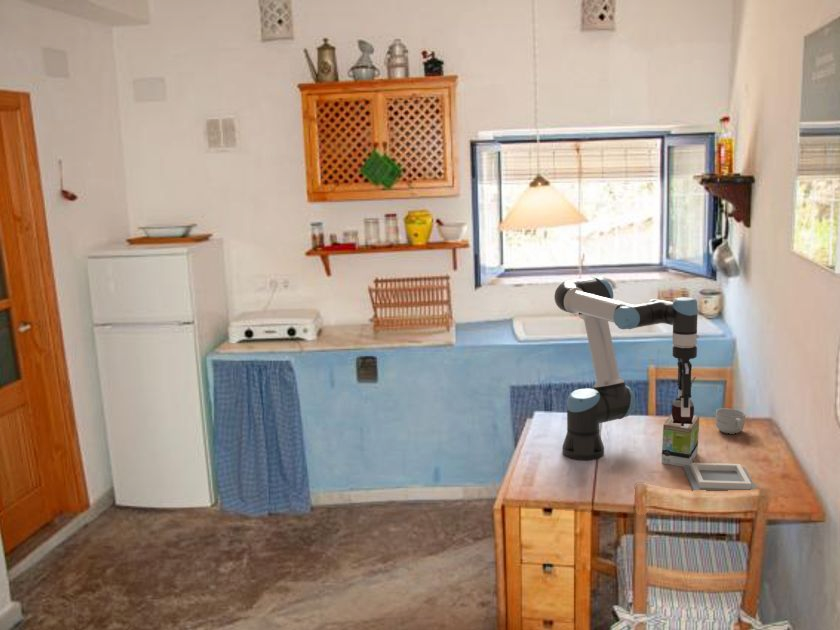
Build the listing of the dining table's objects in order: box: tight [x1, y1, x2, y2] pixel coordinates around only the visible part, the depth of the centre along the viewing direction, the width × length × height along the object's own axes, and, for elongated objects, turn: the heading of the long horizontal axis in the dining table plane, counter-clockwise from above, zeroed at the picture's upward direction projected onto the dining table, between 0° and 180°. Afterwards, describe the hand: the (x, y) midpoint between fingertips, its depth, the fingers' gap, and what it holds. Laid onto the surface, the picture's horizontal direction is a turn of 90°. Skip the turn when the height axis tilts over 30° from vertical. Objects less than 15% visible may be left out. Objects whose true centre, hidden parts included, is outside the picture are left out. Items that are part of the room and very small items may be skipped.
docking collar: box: [683, 462, 758, 491], centre depth 262 cm, size 20×20×3 cm
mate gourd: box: [671, 376, 697, 426], centre depth 259 cm, size 8×8×15 cm
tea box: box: [661, 413, 700, 468], centre depth 281 cm, size 15×10×15 cm, turn 151°
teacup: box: [715, 407, 747, 435], centre depth 304 cm, size 14×11×8 cm
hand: (683, 412), depth 260 cm, fingers closed on mate gourd, 7 cm apart
